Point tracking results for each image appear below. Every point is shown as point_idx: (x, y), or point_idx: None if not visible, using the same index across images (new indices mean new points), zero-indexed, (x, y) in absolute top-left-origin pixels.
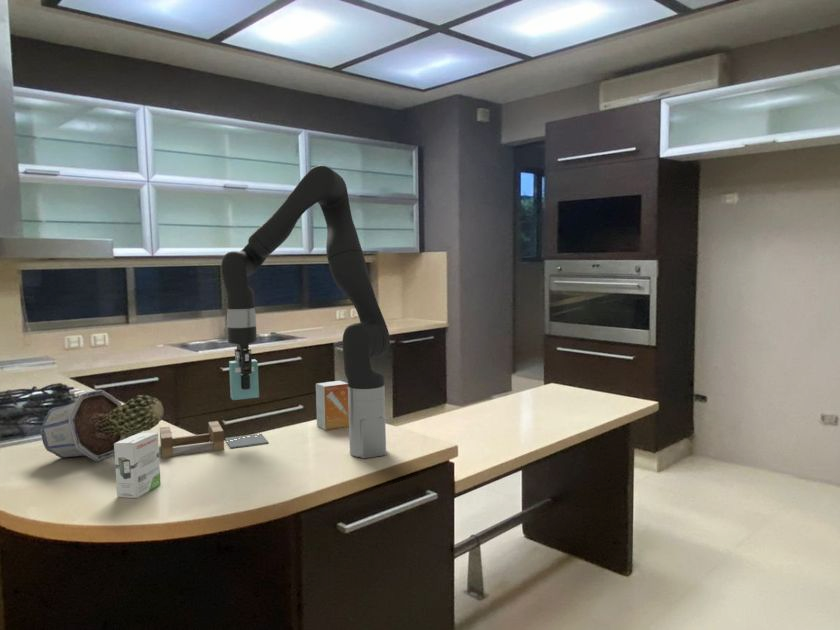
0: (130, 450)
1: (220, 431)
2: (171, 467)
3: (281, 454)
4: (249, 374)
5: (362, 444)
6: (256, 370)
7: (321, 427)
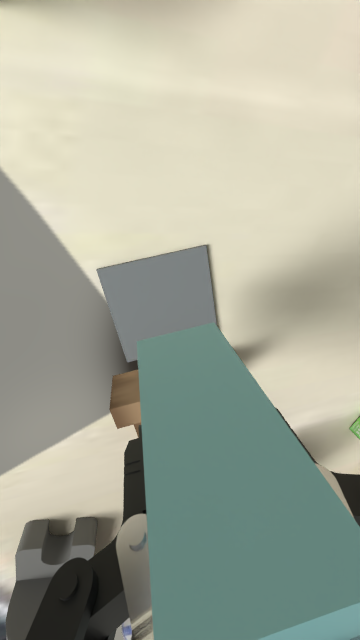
0: None
1: None
2: (293, 412)
3: (322, 207)
4: (322, 470)
5: None
6: (304, 460)
7: None
